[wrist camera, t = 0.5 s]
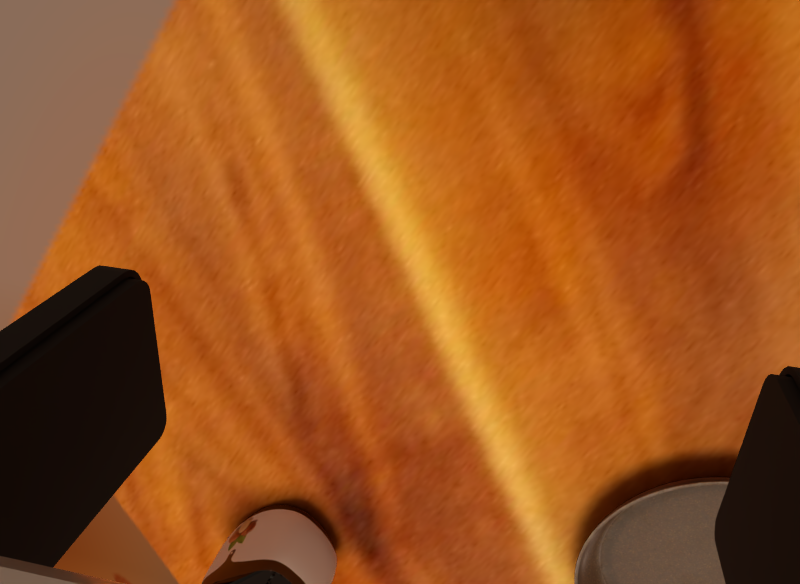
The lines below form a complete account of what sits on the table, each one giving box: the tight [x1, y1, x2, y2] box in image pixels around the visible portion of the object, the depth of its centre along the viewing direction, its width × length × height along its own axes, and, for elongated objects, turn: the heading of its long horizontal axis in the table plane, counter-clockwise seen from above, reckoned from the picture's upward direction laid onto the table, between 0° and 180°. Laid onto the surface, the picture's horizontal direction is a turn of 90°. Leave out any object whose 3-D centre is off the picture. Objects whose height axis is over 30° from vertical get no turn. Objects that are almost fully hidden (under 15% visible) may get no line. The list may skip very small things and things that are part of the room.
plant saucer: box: [575, 477, 730, 584], centre depth 52 cm, size 21×21×3 cm
